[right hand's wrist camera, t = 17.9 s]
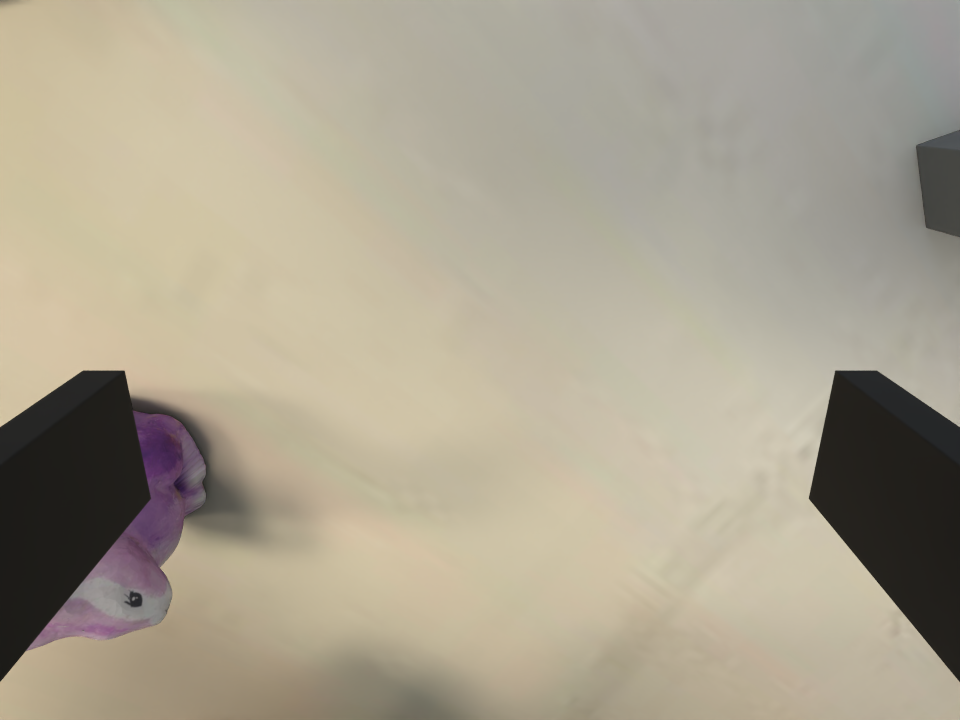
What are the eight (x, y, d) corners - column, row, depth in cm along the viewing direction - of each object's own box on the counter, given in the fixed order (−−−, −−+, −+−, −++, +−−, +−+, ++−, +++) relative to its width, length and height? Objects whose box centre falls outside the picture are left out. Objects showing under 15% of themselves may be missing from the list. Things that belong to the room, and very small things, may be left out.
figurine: (224, 533, 47) (117, 715, 33) (76, 505, 47) (-96, 679, 33) (237, 416, 44) (125, 564, 30) (79, 384, 43) (-112, 520, 29)
